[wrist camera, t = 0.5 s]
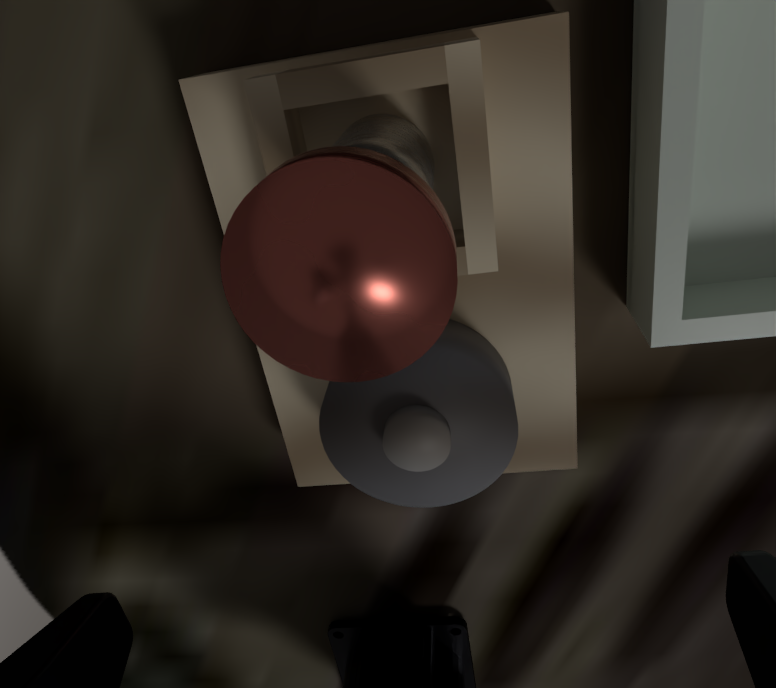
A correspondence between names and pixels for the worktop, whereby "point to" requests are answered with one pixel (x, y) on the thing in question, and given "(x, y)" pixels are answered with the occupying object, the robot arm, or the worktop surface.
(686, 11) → the tray
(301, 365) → the lock pin
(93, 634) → the robot arm
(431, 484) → the block
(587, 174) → the worktop surface
